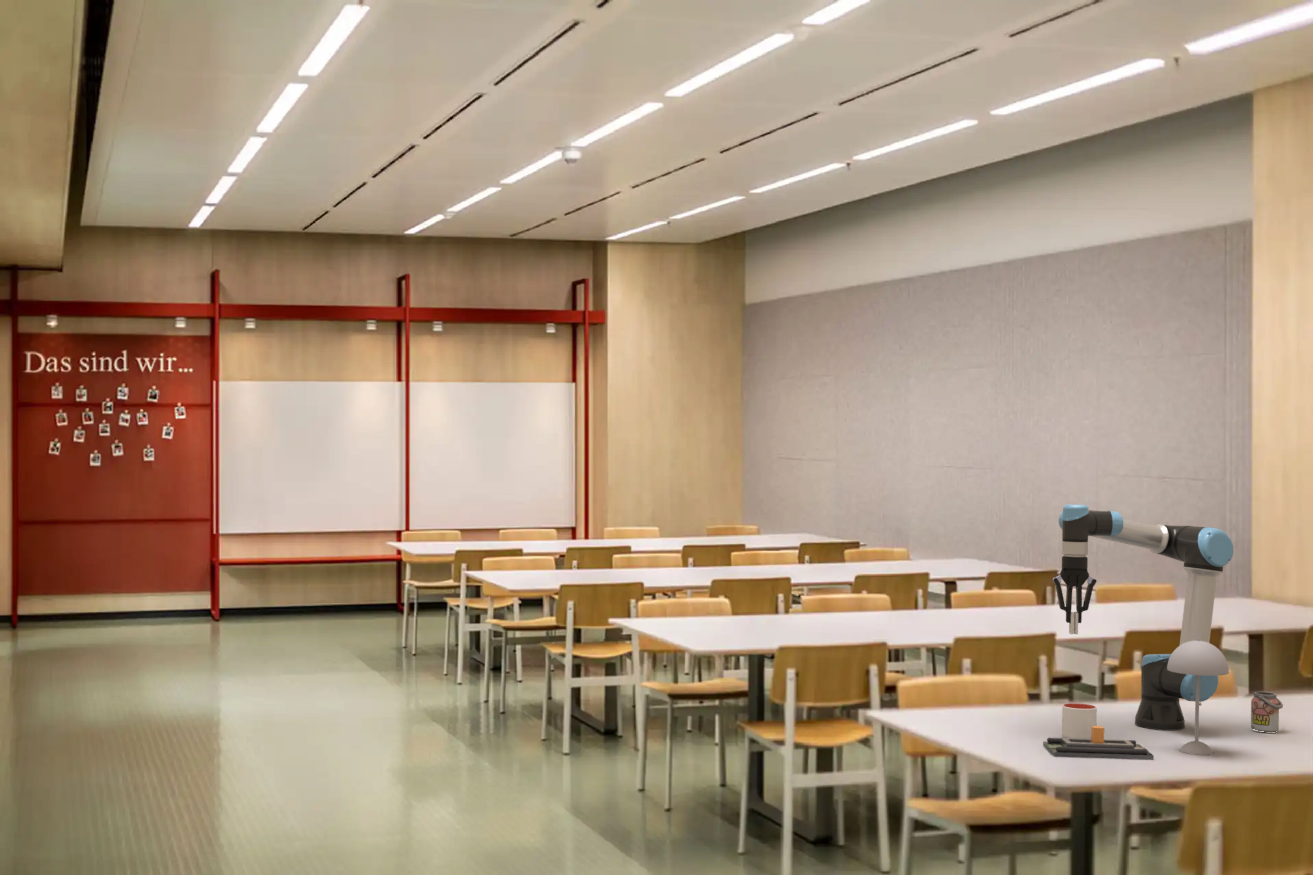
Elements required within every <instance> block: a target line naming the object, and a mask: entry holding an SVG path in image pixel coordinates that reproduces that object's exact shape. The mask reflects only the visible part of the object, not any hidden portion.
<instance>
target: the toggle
mask: <svg viewBox="0 0 1313 875" xmlns="http://www.w3.org/2000/svg"><path fill="white" fill-rule="evenodd" d="M1104 739H1105V727H1103V726H1102V725H1096V726H1091V741H1089V743H1105V742H1104Z"/></svg>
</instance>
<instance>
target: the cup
mask: <svg viewBox="0 0 1313 875" xmlns="http://www.w3.org/2000/svg"><path fill="white" fill-rule="evenodd" d="M1097 708H1098V707H1097V706H1096V705H1092V704H1086V703H1073V702H1072V703H1064V704H1062V708H1061V709H1062V710H1061V712H1062V713H1061V714H1062V715H1061V734H1062V738H1082V739H1091V726H1097V710H1098V709H1097Z"/></svg>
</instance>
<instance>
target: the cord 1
mask: <svg viewBox="0 0 1313 875" xmlns="http://www.w3.org/2000/svg"><path fill="white" fill-rule="evenodd" d="M1061 738H1062V737H1048V738H1047V739H1046V741H1047V742H1049V743H1061ZM1128 740H1129V739H1128ZM1129 741H1130V742H1131V743H1132V744H1134V745H1136V744H1137V740H1135V739H1134V740H1133V739H1132V740H1131V739H1130V740H1129Z"/></svg>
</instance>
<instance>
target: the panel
mask: <svg viewBox="0 0 1313 875" xmlns="http://www.w3.org/2000/svg"><path fill="white" fill-rule="evenodd" d="M1060 738H1061V743H1049V742H1047V740H1045V741H1044V740H1043V742H1042V746H1043V747H1044V748H1045V749H1046V750H1047V751H1048V753H1049V754H1051V756H1053V757H1054V758H1055V757H1056V758H1085V759H1086V758H1087V759H1089V758H1090V759H1114V760H1115V759H1119V760H1120V759H1121V760H1145V761H1146V760H1151V761H1153V760H1155V759H1154V754H1153V753H1151V752H1150V751H1149V750H1148V749H1147V751H1148V754H1121V753H1088V752H1058V751H1056V747H1087V748H1120V749H1146V747H1144V746H1142V745H1141V744H1138V743H1136V745H1134V744H1132V743H1131V742H1130V741H1129V739H1112V738H1111V739H1110V738H1108V739H1107V738H1104V742H1105V743H1089V741H1091V739H1082V738H1064V737H1060Z"/></svg>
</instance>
